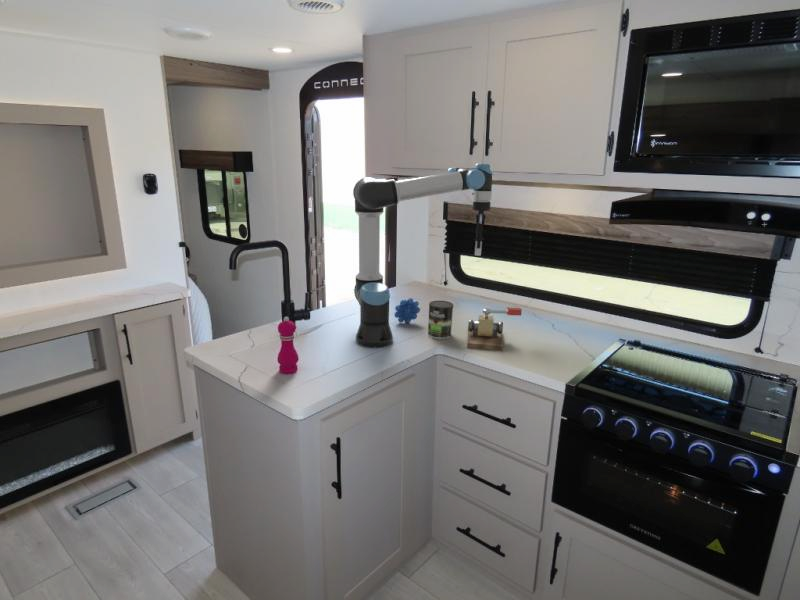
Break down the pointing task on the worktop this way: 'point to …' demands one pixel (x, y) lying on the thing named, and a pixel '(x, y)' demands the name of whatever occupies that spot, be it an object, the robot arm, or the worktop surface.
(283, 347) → the pepper mill
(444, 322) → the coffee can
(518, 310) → the valve lever
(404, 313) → the grapes
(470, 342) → the base board
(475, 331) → the valve body
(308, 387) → the worktop surface
